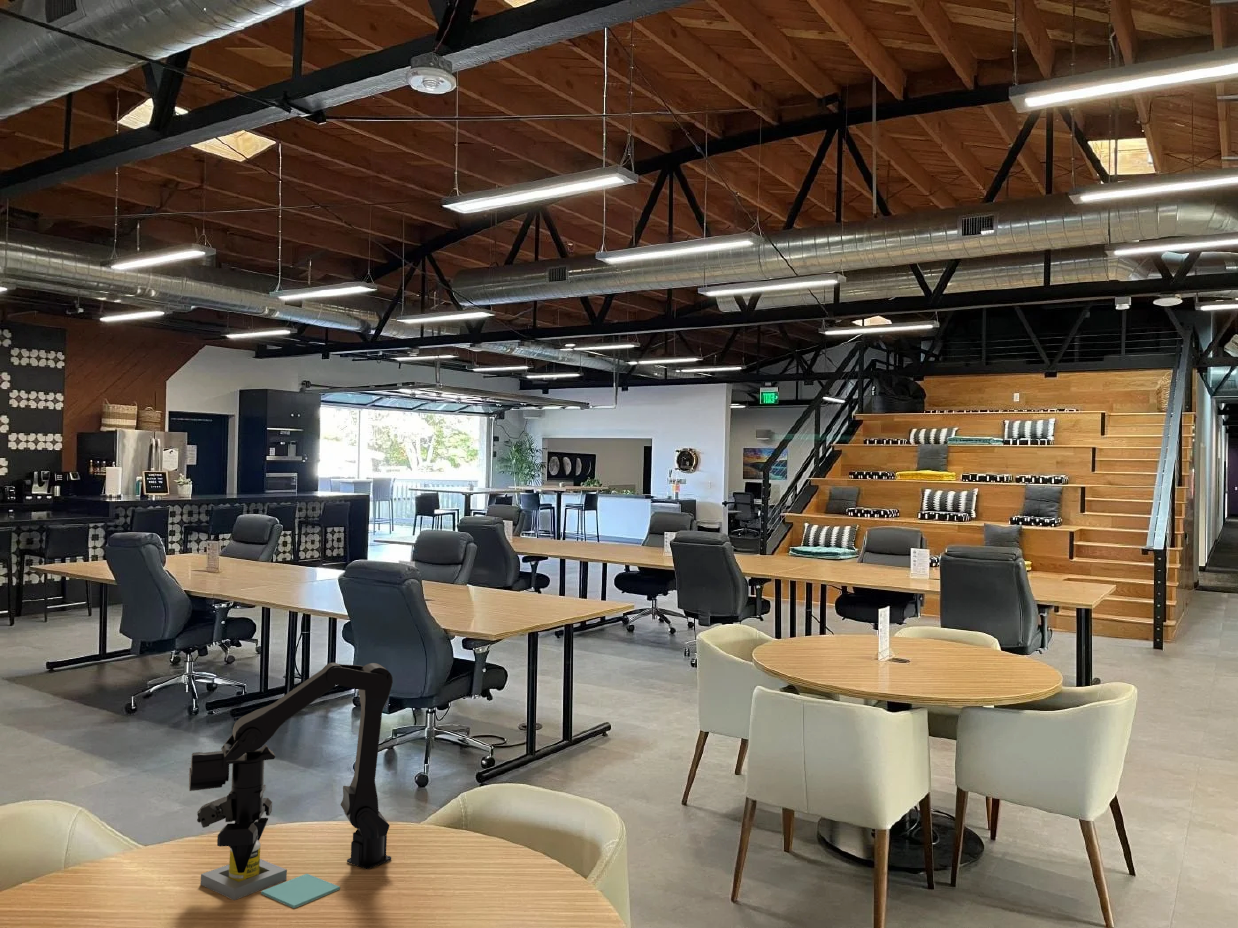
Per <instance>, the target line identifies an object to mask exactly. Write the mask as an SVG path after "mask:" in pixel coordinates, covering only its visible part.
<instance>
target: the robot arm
mask: <svg viewBox="0 0 1238 928" xmlns="http://www.w3.org/2000/svg"><path fill="white" fill-rule="evenodd" d="M393 681H394V680H393V675H392V674H391V672H390V671H389V670H388V669H386V667H384V666H382V665H381V664H379V663H376V662H371V663H370V662H369V663H367V664H365V665H357V664H341V663H338V662H328V663H327V664H326V665H325V666H324V667H322V669H320V670H319V671H317V672H316V673H315V674H313V675H312V676H310V677H309V678H308V679H306V680H305V681H303V682H301V683H300V684H299V685H297V686H296V687H294V688H293V689H292V690H290V691H289V692H287V693H286V694H284V695H283V696H282V697H280V698H279V699H278V700H276V701H274V702H273V703H270V704H269V705H267V706H264V707H261V708H258V709H255V710H254V711H251V712H249V713H247V714H245V715H243V716H241V717H240V718H238V719H237V720H236V721H235V723H234V725H233V729H232V734H231V735H230V736H229V737H228V739H227V740H226V741H225V742H224V744H223V746H221V750H218V751H217V750H216V751H209V752H199V751H198V752H192V753H191V761H190V767H189V769H188V770H189V773H188V776H189V777H188V791H189V792H196V791H204V790H211V789H219V788H223V785H226V782H229V780H230V779H229V778H230V765H231V764H232V765H231V766H232V769H231V770H232V771H231V790H230V792H229V793H227V795H226V796H223V797H220V798H218V799H215V800H213V801H210V802H207V803H205V804H203V805H202V806H201V807H200V808H199V809H198V810H197V813H196V815H197V818H196V819H197V820H196V821H197V823H199V824H200V825H201V827H202V828H207V827H209V826H210V825H212V824H215V823H218V822H219V821H222V820H224V821H225V823H226V824H225V825H224V826H223V827H222V828H221V830H220V831H219V833H218V834H217V840H216V844H217V847H228V848H231V849H232V852H233V856H234V860H235V863H236V867H237V871H238V873H244V871H245V869H246V866H247V864H248V861H249V859H250V856H251V854H252V851H253V849H254V846H255V844H256V841H257V840H258V841H259V842H260V840H261V837H262V835H263V833H264V830H265V828H266V826H267V823H268V821H269V817H268V816H271V814H272V812H273V801H272V800H271V799H270V798H269V797H264V793H265V791H266V789H267V788H266V786H267V785H266V784H264V782H265V781H264V778H265V775H264V774H265V761H270V760H275V759H276V755H275V753H274V751H273V750H271V749H270V748H269V746H268V745H267V744H266V743H268V741H269V740H270V739H272V737H273V736H275V734H276V733H277V731H278V730H279V729H280V728H281V727H282V725H284V723H286V722H287V721H289V719H291V718H292V717H294V716H295V715H297V714H298V713H299V712H301V711H302V710H303V709H305V708H306V707H308V706H309V705H311V704H312V703H313V702H315V701H316V700H317V699H319V698H320V697H322V696H324V694H326V693H328V691H330V690H331V689H333V688H334V687H336V686H339V687H345V688H351V689H355V690H358V697H359V702H360V717H359V728H358V737H357V744H356V754H355V764H354V773H353V779H352V781H351V782H350V784H349V785H342V799H341V800H342V801H341V802H340V806H341V808H342V810H343V813H344V815H345V816H346V818H347V820H348V821H349V823H350V824H351V826H352V827H353V828H355V829H356V830H355V831H354V832H352V841H351V844H350V858H347V859H346V862H347V863H348V864H350V865H353V866H357V867H359V868H362V869H364V870H370V869H373V868H375V867H377V866H380V865H382V864H384V863H388V862H389V861H391V860H392V856H389V855H387V846H388V845H387V844H388V842H387V840H388V832H389V830H390V824H389V822H388V821H387V820H386V818H385V817H384V815H383V814H382V813H381V812H380V811H379V798H378V792H377V785H376V773H377V765H378V764H377V763H378V756H379V755H378V754H379V746H380V737H381V728H382V718H383V712H384V708H385V707H386V705H387V702H388V700H389V697H390V694H391V691H392V686H393V684H394V683H393ZM264 813H265V816H267V817H262V816H263V815H264ZM232 822H234V823H232Z"/></svg>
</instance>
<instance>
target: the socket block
mask: <svg viewBox="0 0 1238 928" xmlns="http://www.w3.org/2000/svg"><path fill="white" fill-rule="evenodd" d="M287 872H288V870H287V869H286V868H285V867H281V866H279V865H276V864H274V863H271V862H268V860H267V861H266V860H264V859H262V858H260V865H259V875H256V876H254V877H251V878H248V879H245V880H243V881H240V882H237V881H235V880H233V879H230V878H229V864H226V865H224V866H219V867H217V868H213V869H211V870H209V871H206V872H203V873H201V874H200V886H202V887H205V888H206V889H209V890H211V891H213V892H215V893H217V894H220V895H222V896H224V897H227V898H228V899H231V900H232V901H236V900H238V899H241V898H244V897H247V896H249V895H251V894H254V893H256V892H261V891H263V890H265V889H268V888H271V887H273V886H276V885H278V884H281V883H284V882H286V881H287V880H288V879H287V877H288V876H287V875H288V874H287Z"/></svg>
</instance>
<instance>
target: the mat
mask: <svg viewBox="0 0 1238 928" xmlns="http://www.w3.org/2000/svg"><path fill="white" fill-rule="evenodd" d="M340 889H341V886H339V885H336V884H334V883H332V882H329V881H327V880H324V879H322V878H319V877H317V876H314V875H311V874H309V873H304V874H302V875H300V876H297V877H294V878H292V879H290V880H286V881H283V882H280V883H278V884H275V885H273V886H270V887H267V888H265V889H262V890H260V894H261V895H263V896H265V897H267V898H270V899H271V900H274V901H276V902H279V903H281V904H283V905H285V906H287V907H290V908H291V909H296V908H298V907H301V906H303V905H306V904H309V903H311V902H313V901H315V900H318V899H320V898H322V897H325V896H328V895H330V894H332V893H334V892H337V891H339V890H340Z"/></svg>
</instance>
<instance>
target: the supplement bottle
mask: <svg viewBox="0 0 1238 928" xmlns="http://www.w3.org/2000/svg"><path fill="white" fill-rule="evenodd" d="M229 848H230V847H229ZM260 859H261V842H260V840H259V841H258V840H257V841H256V844H255V846H254V849H253V851H252V854H251V856H250V859H249V861H248V864H247V866H246V869H245V871H244V873H238V871H237V867H236V863H235V860H234V856H233V852H232V849H231V848H230V849H229V862H228V865H229V878H230V879H233V880H235V881H237V882H240V881H243V880H245V879H248V878H251V877H254V876H256V875H259V865H260Z"/></svg>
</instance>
